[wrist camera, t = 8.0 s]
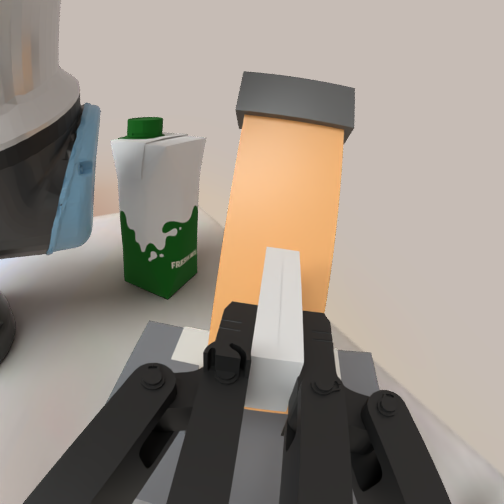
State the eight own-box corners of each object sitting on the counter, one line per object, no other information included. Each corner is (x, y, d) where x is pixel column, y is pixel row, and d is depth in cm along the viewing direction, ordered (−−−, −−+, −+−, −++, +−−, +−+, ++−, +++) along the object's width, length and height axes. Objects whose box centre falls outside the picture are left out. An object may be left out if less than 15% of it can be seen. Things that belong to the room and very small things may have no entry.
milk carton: (154, 253, 44) (154, 115, 34) (207, 271, 41) (216, 119, 31) (114, 282, 36) (102, 122, 27) (170, 307, 34) (168, 124, 24)
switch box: (356, 534, 13) (415, 509, 9) (104, 498, 14) (59, 460, 10) (348, 394, 25) (379, 334, 21) (156, 367, 26) (147, 301, 22)
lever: (312, 419, 15) (354, 88, 16) (190, 402, 15) (243, 71, 17) (307, 402, 18) (345, 107, 19) (199, 386, 18) (246, 92, 19)
